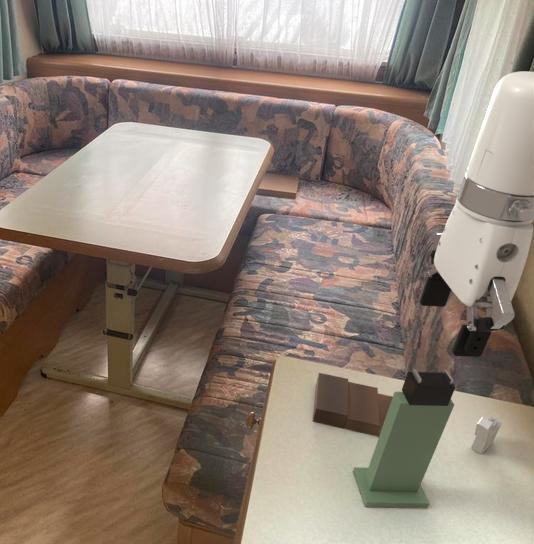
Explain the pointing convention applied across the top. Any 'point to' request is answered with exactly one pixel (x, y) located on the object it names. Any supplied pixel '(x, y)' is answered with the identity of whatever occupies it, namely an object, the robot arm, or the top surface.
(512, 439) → the top surface
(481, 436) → the white blocky piece
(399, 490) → the stand
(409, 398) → the clip
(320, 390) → the brown stepped wooden block
